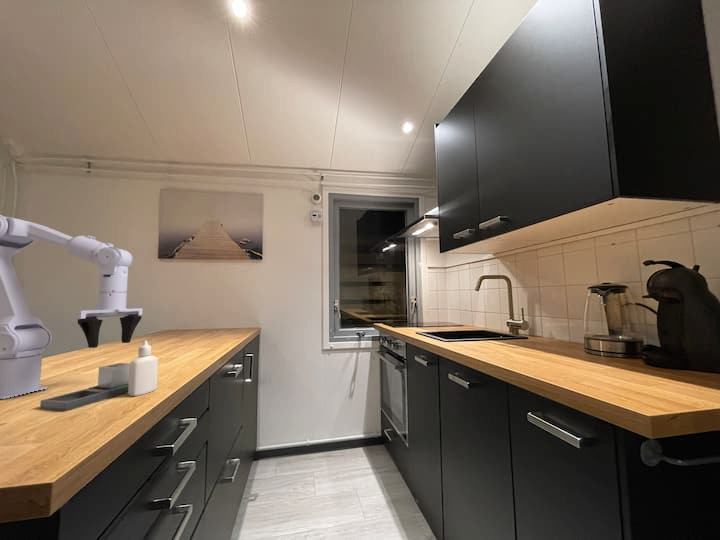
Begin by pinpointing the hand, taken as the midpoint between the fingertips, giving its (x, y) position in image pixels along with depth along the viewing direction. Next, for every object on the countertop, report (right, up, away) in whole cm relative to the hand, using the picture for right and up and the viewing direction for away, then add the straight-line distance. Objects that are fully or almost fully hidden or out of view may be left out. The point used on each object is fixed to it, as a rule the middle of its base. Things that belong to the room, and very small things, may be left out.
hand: (110, 345), depth 75 cm
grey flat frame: (+5, -9, -9) cm, 14 cm away
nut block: (+6, -10, -6) cm, 13 cm away
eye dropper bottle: (+14, -10, -7) cm, 18 cm away
